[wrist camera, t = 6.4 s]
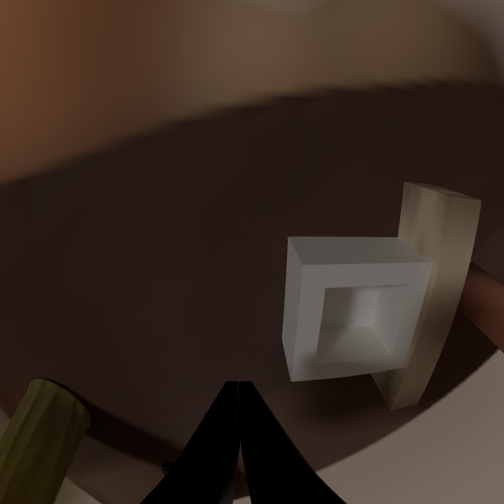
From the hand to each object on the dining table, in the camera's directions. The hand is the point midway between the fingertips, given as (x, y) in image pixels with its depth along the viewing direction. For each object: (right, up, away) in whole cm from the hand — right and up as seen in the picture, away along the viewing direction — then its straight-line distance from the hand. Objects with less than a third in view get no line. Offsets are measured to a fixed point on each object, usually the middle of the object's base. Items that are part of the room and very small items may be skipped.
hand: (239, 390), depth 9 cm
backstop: (+9, +2, +7) cm, 12 cm away
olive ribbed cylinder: (-15, -8, +10) cm, 20 cm away
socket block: (+5, +2, +7) cm, 9 cm away
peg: (+14, +2, +7) cm, 16 cm away
